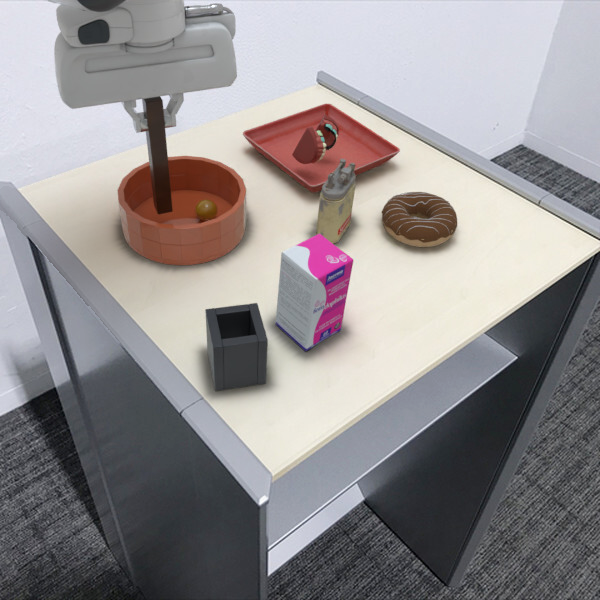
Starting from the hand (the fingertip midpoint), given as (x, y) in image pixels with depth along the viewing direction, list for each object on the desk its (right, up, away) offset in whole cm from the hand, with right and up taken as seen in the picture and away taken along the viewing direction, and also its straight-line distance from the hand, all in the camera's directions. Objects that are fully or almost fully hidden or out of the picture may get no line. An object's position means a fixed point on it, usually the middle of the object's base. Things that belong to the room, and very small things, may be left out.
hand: (154, 127), depth 81 cm
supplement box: (+19, -24, -1) cm, 31 cm away
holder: (+10, -28, -7) cm, 31 cm away
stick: (-1, -9, +8) cm, 12 cm away
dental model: (+22, +5, +21) cm, 31 cm away
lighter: (+22, -11, +13) cm, 28 cm away
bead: (+5, -9, +10) cm, 14 cm away
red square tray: (+21, +1, +26) cm, 33 cm away
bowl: (+2, -11, +11) cm, 16 cm away
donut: (+34, -11, +14) cm, 39 cm away
